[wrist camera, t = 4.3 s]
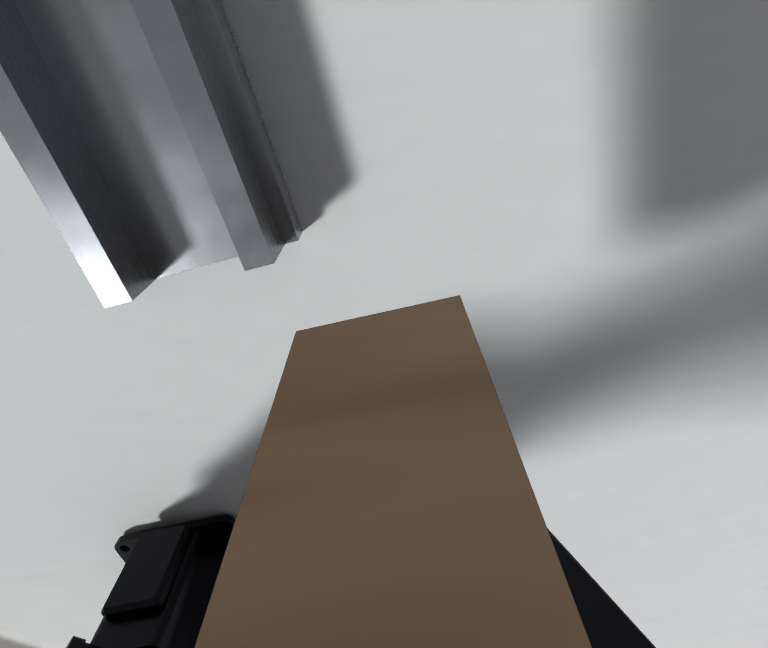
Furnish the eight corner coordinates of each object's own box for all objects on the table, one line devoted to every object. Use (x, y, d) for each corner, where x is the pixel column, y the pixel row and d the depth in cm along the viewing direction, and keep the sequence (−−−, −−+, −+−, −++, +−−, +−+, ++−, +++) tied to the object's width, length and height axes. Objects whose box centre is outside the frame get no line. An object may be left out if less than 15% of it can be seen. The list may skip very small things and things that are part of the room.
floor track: (302, 232, 18) (277, 283, 14) (131, 278, 19) (56, 340, 14) (112, -305, 12) (-48, -531, 7) (-131, -204, 13) (-406, -355, 8)
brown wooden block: (511, 582, 12) (655, 1124, 6) (394, 600, 12) (411, 1138, 6) (459, 294, 8) (685, 900, 2) (296, 331, 9) (94, 959, 3)
